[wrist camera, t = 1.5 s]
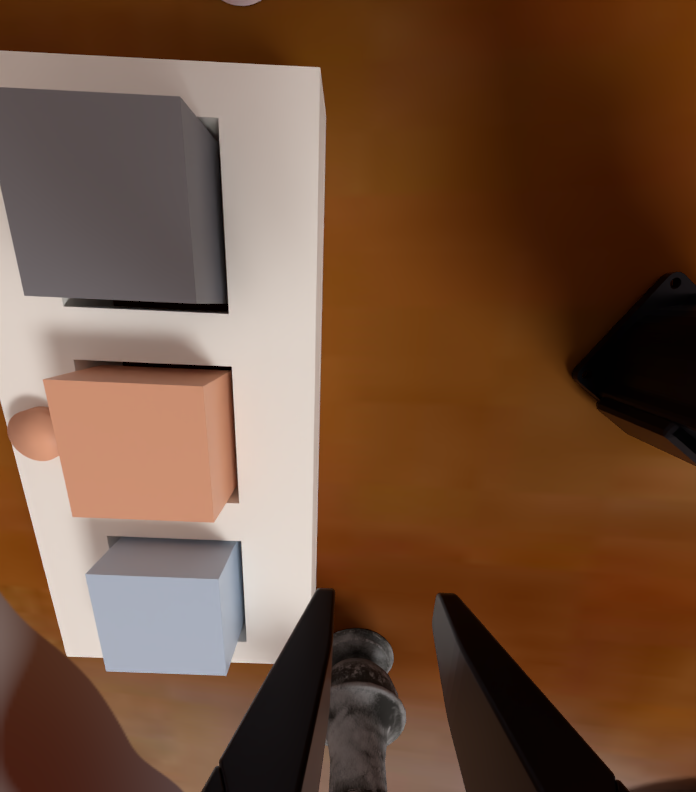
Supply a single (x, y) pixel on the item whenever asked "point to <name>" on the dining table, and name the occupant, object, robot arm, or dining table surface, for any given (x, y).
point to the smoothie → (241, 2)
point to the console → (194, 340)
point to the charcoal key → (112, 196)
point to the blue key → (168, 605)
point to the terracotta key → (145, 441)
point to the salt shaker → (361, 711)
